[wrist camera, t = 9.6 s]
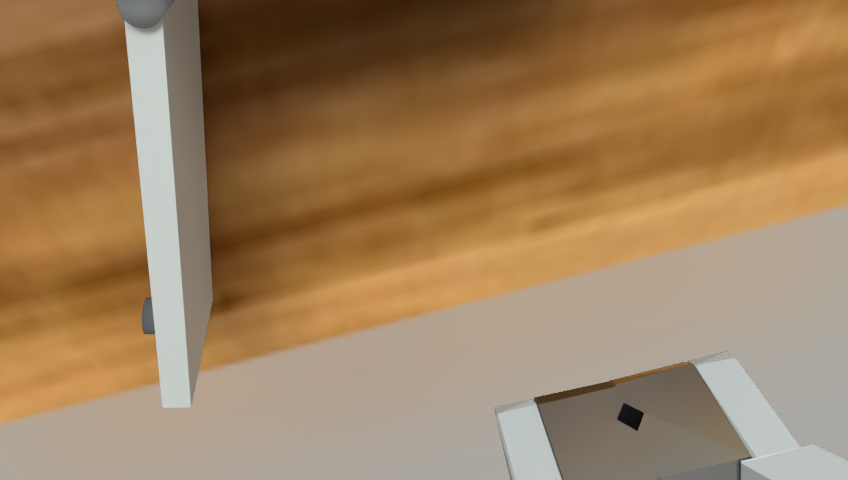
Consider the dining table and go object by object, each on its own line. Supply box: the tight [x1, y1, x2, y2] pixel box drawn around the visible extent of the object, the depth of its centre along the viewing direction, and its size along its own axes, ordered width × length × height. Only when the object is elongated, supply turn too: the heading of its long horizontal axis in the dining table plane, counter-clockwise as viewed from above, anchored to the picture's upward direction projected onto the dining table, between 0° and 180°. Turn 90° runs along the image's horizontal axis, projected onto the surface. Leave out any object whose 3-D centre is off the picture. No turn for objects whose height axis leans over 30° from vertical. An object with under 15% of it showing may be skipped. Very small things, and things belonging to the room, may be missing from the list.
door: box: [117, 0, 213, 408], centre depth 27 cm, size 15×2×7 cm, turn 175°
